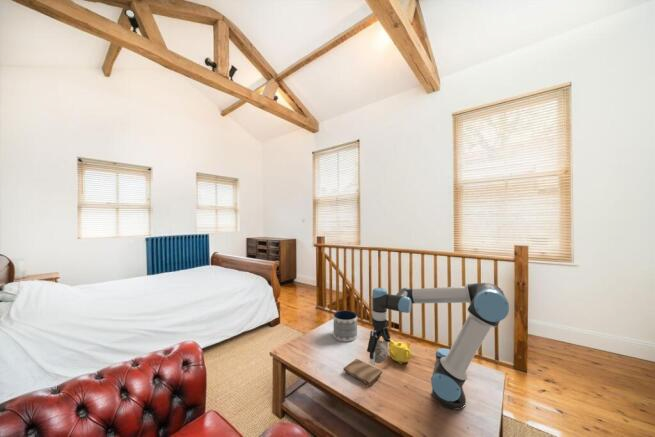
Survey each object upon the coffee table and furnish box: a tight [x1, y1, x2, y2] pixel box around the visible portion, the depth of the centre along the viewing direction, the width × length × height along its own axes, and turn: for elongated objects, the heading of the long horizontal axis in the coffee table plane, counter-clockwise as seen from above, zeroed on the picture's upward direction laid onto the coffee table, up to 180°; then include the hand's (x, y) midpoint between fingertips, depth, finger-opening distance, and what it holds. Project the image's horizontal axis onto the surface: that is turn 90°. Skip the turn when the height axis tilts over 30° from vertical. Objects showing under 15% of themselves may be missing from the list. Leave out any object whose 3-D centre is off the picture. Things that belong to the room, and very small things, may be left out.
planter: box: [333, 310, 358, 343], centre depth 184 cm, size 18×18×16 cm
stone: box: [374, 339, 388, 364], centre depth 125 cm, size 9×14×10 cm, turn 159°
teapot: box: [388, 339, 413, 365], centre depth 153 cm, size 20×18×11 cm
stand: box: [343, 358, 383, 387], centre depth 138 cm, size 18×13×3 cm
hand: (379, 358), depth 125 cm, fingers closed on stone, 13 cm apart
